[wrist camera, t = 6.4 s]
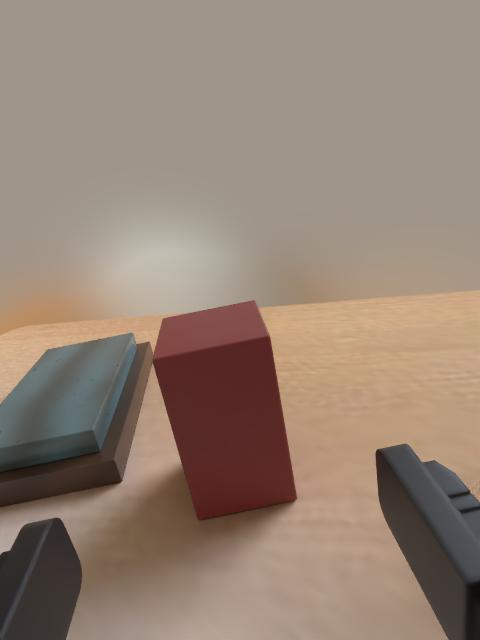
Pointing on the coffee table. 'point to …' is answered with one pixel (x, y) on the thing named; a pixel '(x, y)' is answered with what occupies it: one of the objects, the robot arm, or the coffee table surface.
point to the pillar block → (225, 408)
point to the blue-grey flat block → (72, 418)
